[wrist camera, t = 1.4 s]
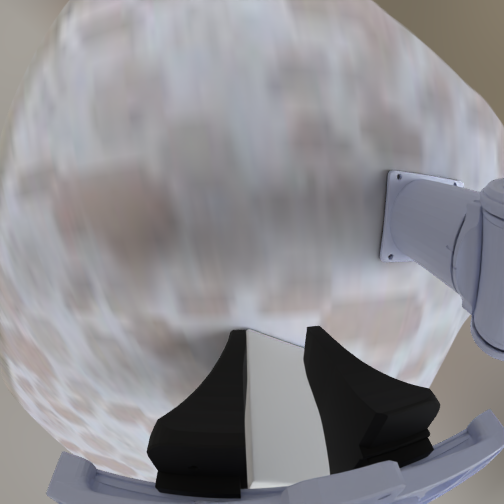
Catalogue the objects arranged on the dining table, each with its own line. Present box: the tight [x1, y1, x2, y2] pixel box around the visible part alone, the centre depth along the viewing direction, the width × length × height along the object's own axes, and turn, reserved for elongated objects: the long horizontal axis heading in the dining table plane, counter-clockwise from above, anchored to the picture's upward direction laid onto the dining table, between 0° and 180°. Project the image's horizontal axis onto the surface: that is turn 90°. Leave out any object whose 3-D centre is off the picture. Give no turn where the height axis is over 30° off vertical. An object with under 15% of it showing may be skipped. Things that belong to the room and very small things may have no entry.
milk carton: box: [245, 329, 330, 489], centre depth 17 cm, size 7×7×19 cm
